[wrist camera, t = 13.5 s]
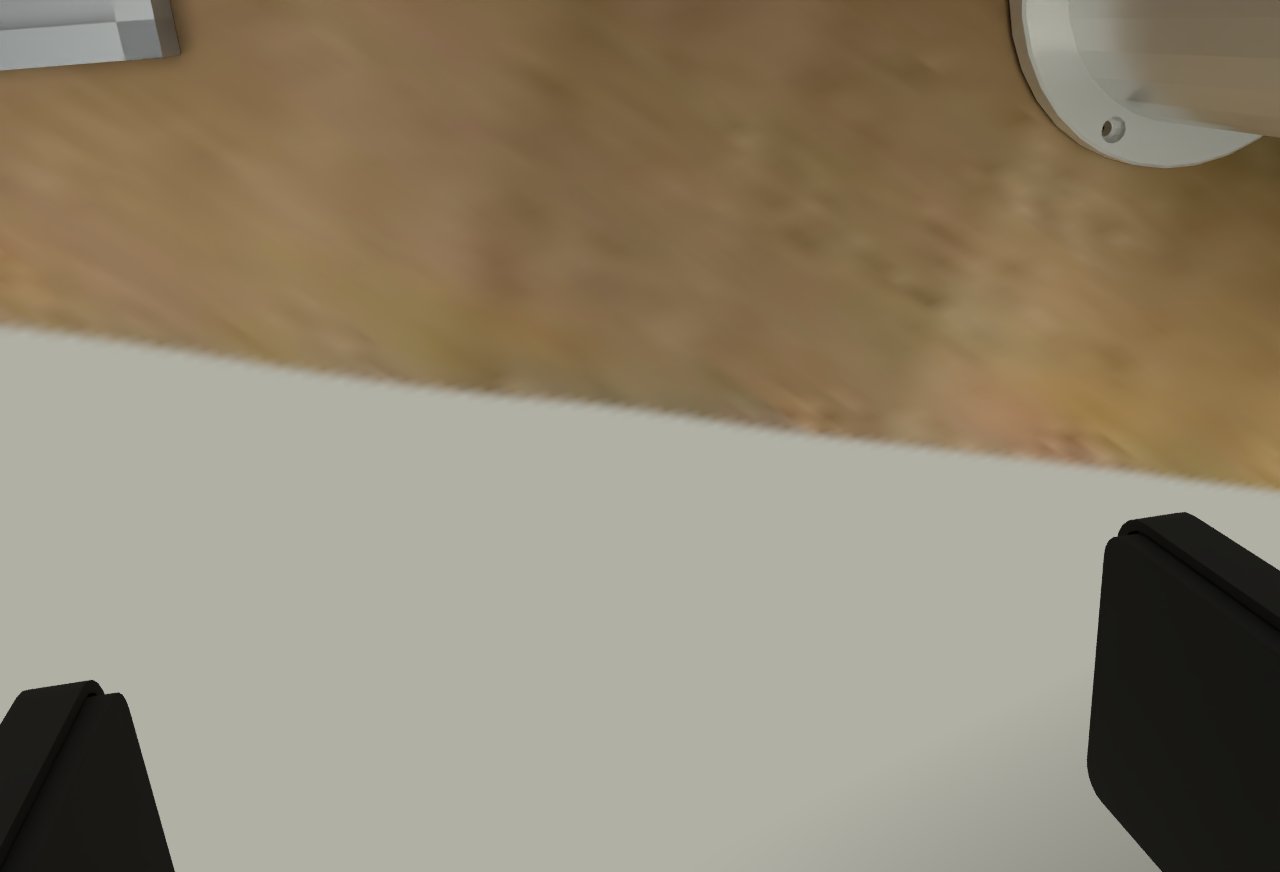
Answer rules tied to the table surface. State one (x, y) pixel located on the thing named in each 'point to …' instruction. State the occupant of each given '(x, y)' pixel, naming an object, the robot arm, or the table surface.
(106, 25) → the tray
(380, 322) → the table surface
